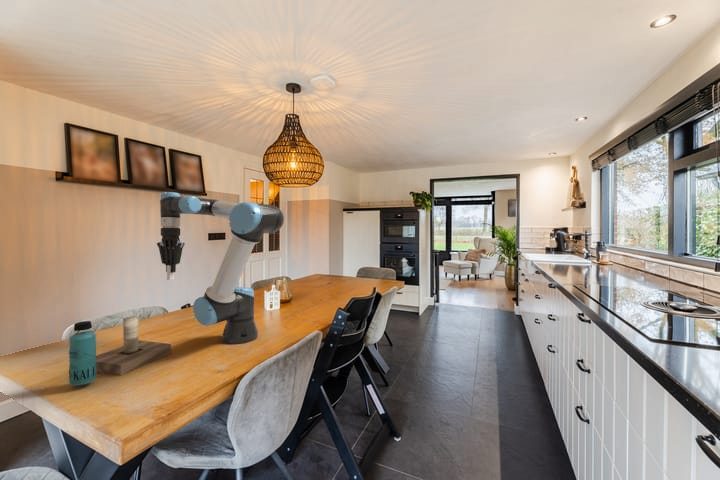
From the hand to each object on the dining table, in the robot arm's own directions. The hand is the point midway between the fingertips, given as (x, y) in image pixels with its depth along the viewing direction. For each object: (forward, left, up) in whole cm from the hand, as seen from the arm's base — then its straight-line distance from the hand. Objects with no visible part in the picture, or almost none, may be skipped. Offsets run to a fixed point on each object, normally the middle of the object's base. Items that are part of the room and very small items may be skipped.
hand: (170, 279), depth 138 cm
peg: (-6, +24, -26) cm, 36 cm away
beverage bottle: (-9, +42, -27) cm, 51 cm away
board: (-6, +24, -26) cm, 36 cm away
